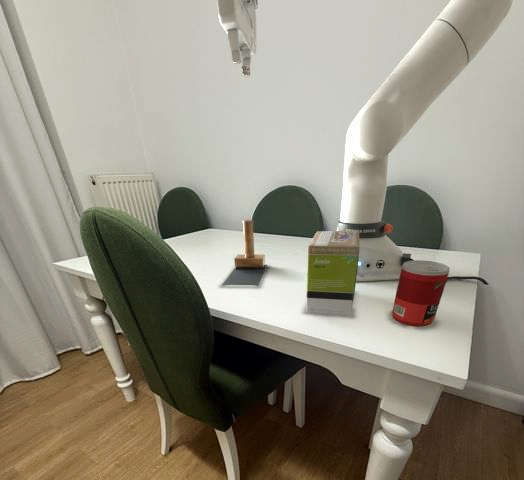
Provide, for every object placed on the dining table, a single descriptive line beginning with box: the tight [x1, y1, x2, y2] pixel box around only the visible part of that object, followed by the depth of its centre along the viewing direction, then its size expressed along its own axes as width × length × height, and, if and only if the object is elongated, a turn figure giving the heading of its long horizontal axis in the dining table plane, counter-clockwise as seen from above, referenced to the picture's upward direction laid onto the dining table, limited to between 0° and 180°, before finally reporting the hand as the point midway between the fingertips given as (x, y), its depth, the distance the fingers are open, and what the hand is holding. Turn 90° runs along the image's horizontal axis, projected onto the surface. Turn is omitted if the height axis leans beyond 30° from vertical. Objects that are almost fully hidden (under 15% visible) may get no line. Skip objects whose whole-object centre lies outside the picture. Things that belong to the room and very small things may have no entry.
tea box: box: [305, 230, 360, 316], centre depth 65 cm, size 15×10×15 cm
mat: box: [221, 264, 268, 286], centre depth 88 cm, size 10×20×1 cm, turn 172°
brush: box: [233, 219, 266, 270], centre depth 89 cm, size 9×5×14 cm, turn 82°
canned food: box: [391, 259, 451, 328], centre depth 57 cm, size 8×8×11 cm
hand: (242, 69), depth 67 cm, fingers open, 8 cm apart
